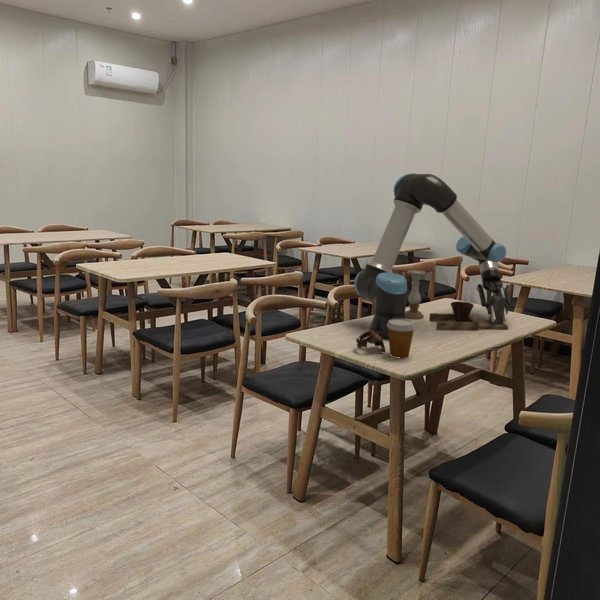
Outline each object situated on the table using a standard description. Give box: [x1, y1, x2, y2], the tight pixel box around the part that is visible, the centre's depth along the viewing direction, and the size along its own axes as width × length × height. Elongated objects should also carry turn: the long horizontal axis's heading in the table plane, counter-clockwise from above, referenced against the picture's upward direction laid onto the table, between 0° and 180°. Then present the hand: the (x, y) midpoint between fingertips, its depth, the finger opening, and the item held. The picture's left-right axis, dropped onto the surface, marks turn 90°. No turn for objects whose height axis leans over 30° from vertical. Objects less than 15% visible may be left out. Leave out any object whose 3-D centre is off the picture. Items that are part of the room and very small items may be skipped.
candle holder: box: [405, 269, 426, 320], centre depth 236 cm, size 9×9×20 cm
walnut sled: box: [428, 295, 509, 331], centre depth 224 cm, size 29×14×12 cm, turn 89°
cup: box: [450, 301, 474, 322], centre depth 224 cm, size 9×9×10 cm
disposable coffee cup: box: [387, 318, 416, 359], centre depth 185 cm, size 10×10×12 cm
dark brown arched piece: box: [355, 330, 387, 354], centre depth 192 cm, size 12×10×8 cm
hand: (499, 320), depth 221 cm, fingers closed on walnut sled, 4 cm apart
